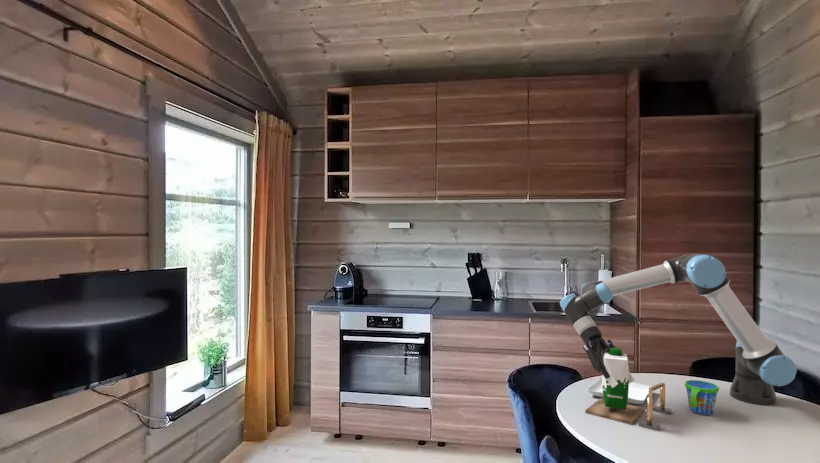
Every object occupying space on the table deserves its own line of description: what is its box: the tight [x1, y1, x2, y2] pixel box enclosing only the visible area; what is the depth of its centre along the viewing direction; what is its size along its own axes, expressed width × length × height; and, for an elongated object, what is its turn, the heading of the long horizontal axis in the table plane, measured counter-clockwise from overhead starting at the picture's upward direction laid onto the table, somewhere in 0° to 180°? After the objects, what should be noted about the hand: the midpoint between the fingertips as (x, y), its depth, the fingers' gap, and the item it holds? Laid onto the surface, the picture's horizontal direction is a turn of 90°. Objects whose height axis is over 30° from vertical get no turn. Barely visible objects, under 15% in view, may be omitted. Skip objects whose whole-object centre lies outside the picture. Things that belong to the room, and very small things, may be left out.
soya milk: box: [602, 347, 630, 409], centre depth 179 cm, size 9×9×20 cm
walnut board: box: [584, 397, 646, 426], centre depth 180 cm, size 16×16×1 cm
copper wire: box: [638, 382, 673, 432], centre depth 174 cm, size 6×21×10 cm, turn 140°
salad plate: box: [586, 376, 653, 405], centre depth 198 cm, size 21×21×3 cm
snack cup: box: [684, 379, 720, 416], centre depth 181 cm, size 16×10×10 cm
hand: (623, 383), depth 177 cm, fingers closed on soya milk, 8 cm apart
